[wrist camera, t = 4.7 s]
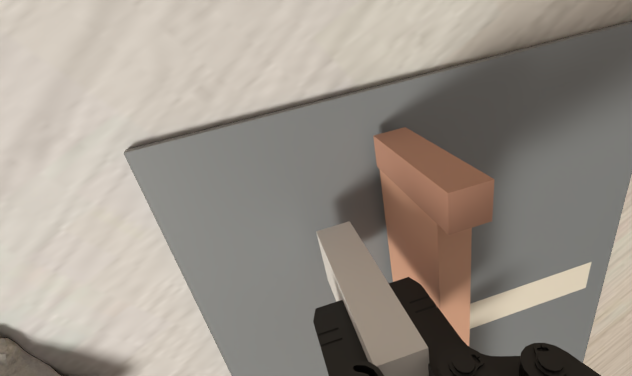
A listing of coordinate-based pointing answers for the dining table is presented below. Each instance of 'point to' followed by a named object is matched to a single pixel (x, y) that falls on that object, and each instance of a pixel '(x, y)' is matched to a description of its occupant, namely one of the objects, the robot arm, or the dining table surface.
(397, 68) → the dining table surface
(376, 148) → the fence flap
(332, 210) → the board
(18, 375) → the stone
